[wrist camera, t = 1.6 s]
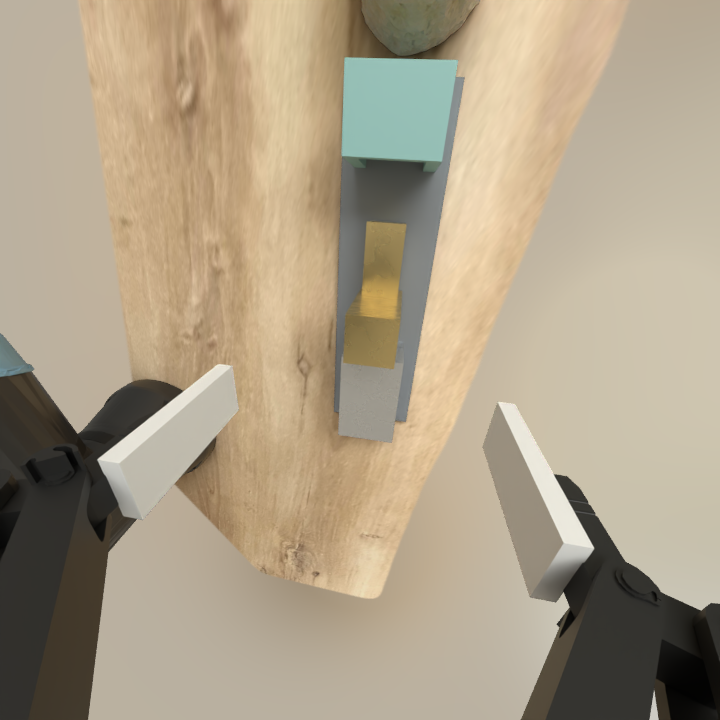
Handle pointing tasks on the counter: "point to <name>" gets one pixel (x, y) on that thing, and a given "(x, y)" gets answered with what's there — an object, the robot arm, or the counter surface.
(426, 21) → the sponge
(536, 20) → the counter surface
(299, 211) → the counter surface
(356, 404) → the grey rectangular sleeve
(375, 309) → the gold stepped block
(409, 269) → the slate board
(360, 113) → the socket
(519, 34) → the counter surface
